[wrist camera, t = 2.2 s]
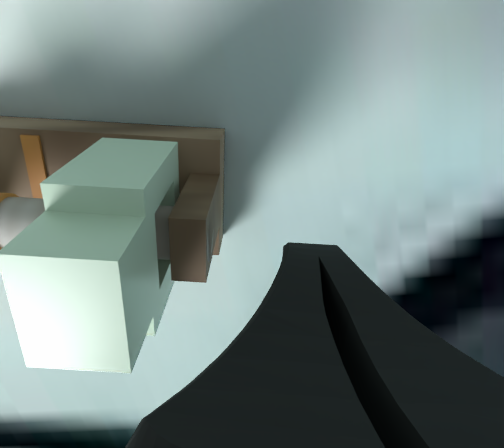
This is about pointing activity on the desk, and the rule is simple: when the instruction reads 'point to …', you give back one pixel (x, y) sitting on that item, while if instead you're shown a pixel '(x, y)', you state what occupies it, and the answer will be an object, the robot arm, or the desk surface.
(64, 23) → the desk surface
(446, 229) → the desk surface
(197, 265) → the rod stand
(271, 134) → the desk surface
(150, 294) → the mint green stepped block
